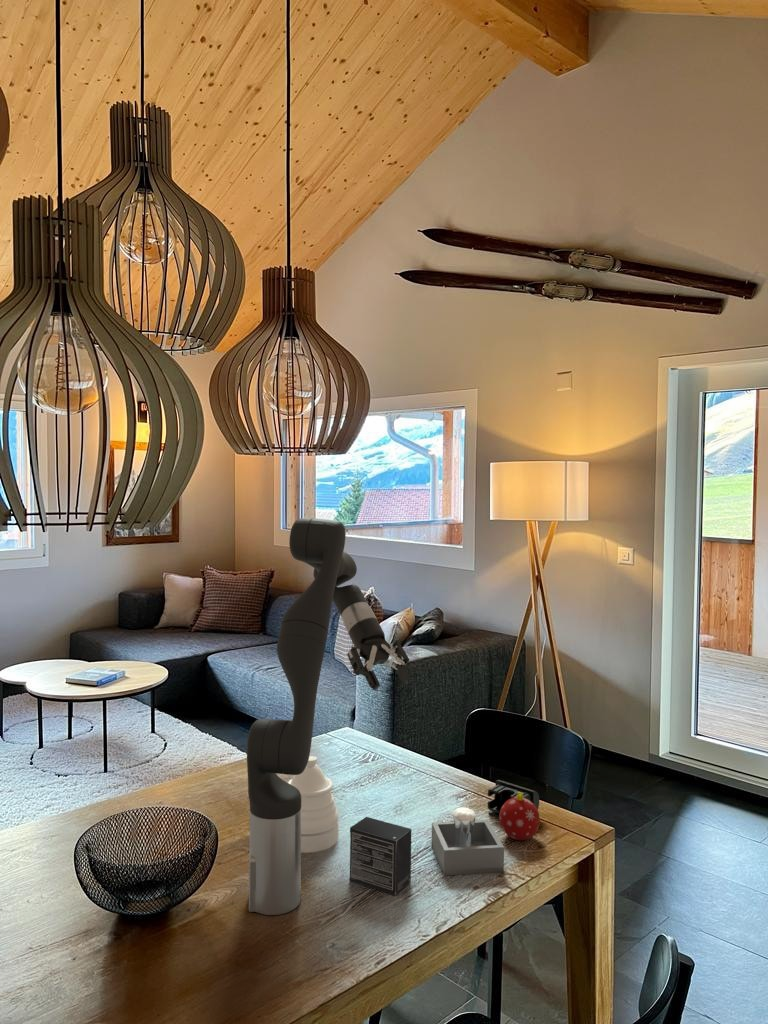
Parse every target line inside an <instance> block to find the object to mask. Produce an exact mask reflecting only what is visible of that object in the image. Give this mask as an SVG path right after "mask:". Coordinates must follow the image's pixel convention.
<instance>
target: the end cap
mask: <svg viewBox="0 0 768 1024" xmlns="http://www.w3.org/2000/svg"><path fill="white" fill-rule="evenodd" d="M518 792H521V793H523V798H525V799H528V800H529V801H531V802H532V803H533V804H534V805H535V807H536V808H537V810H538V811H539V807H540V796H539V793H538V792H537V791H536V790H533V789H530V788H527V787H523V786H520V785H517V784H514V783H510V782H507V781H504V780H501V779H497V780H495V785H494V786H493V787H491V788H489V789H488V790H487V797H489V798H490V797H491V796H493V798H492V799H490V800H488V801H487V809H488V811H487V812H488V815H489V816H490V817H495V818H496V819H499V814H500V810H501V808H502V806H503V805H504V803H505V802H506V801H508V800H509V799H511V798H515V797H517V793H518ZM519 794H520V793H519ZM520 795H521V794H520Z"/></svg>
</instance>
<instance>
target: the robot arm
mask: <svg viewBox="0 0 768 1024" xmlns="http://www.w3.org/2000/svg"><path fill="white" fill-rule="evenodd" d="M346 533H347V532H346V528H345V525H344V523H343V522H341V521H339V520H336V519H326V518H315V517H314V518H313V517H303V518H301V517H300V518H298V519H296V520H295V521H294V522H293V524H292V526H291V529H290V533H289V550H290V554H291V556H292V557H293V559H294V560H297V561H299V562H303V563H305V564H307V565H309V566H310V567H312V568H313V574H312V575H313V579H314V580H313V581H312V582H311V584H310V585H309V586H308V587H307V588H306V589H305V590H304V591H303V592H302V593H301V595H299V596H298V597H297V598H296V600H295V601H293V603H291V605H290V606H289V607H288V608H287V610H286V611H285V612H284V614H283V617H282V619H281V623H280V628H279V634H278V636H277V637H278V638H277V644H276V653H277V657H278V660H279V663H280V666H281V668H282V670H283V672H284V675H285V678H286V679H287V682H288V684H289V687H290V690H291V694H292V697H293V716H292V720H287V719H274V718H273V719H272V718H259V719H256V720H255V721H254V722H253V723H252V724H251V726H250V728H249V732H248V735H247V739H246V740H247V741H246V767H247V768H246V769H247V792H248V794H247V795H248V800H249V854H248V855H249V856H248V912H250V913H251V912H256V913H258V914H261V915H266V916H279V915H283V914H287V913H289V912H291V911H294V909H296V908H297V907H298V906H299V905H300V903H301V892H302V889H301V888H302V886H301V885H302V884H301V881H302V880H301V879H302V877H301V876H302V868H301V867H302V852H301V794H300V791H299V790H298V789H297V788H296V787H294V786H293V785H291V784H289V783H288V781H285V780H284V779H282V778H281V777H280V776H279V775H290V776H294V775H299V774H301V773H302V772H303V771H304V770H305V768H306V766H307V763H308V760H309V756H311V748H312V740H313V733H314V719H315V711H316V702H317V694H318V688H319V681H320V676H321V671H322V666H323V661H324V655H325V651H326V646H327V640H328V634H329V627H330V620H331V613H332V605H333V603H334V605H335V607H336V609H337V610H338V613H339V615H340V617H341V619H342V622H343V625H344V627H345V630H346V632H347V634H348V636H349V638H350V639H351V642H352V644H353V646H352V647H351V648H350V650H349V651H348V652H347V658H348V660H349V662H350V666H351V668H352V670H353V673H354V674H355V675H356V676H360V675H361V676H363V677H364V678H365V679H366V682H367V684H368V685H369V687H370V688H371V689H372V690H373V691H377V690H378V689H379V688H380V682H379V680H378V678H377V676H376V673H375V672H374V670H373V666H378V665H384V664H385V665H386V666H388V667H392V668H393V669H395V670H396V673H397V676H398V677H399V679H400V681H401V682H402V684H403V685H406V684H408V682H410V678H411V676H410V674H409V672H408V670H407V668H406V665H407V664H408V663H409V662H410V658H409V656H408V655H407V653H406V651H405V650H404V648H403V646H402V644H401V642H400V641H399V640H395V641H394V642H392V643H389V642H388V641H387V640H386V637H385V636H386V635H385V632H384V630H383V628H382V626H381V625H380V622H379V621H378V618H377V617H376V615H375V612H374V611H373V609H372V608H371V606H370V604H369V603H368V602H367V599H366V597H365V595H364V594H363V591H362V589H360V587H359V586H358V585H357V584H356V585H355V584H347V585H345V586H340V585H342V584H345V583H347V582H349V581H350V580H352V579H353V578H355V576H356V575H357V571H358V569H357V564H356V562H355V560H354V558H353V557H352V555H350V554H348V552H345V551H344V550H345V545H346ZM390 657H391V658H390ZM361 658H362V659H364V661H362V660H361ZM277 774H278V775H277Z"/></svg>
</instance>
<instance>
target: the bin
mask: <svg viewBox="0 0 768 1024" xmlns="http://www.w3.org/2000/svg"><path fill="white" fill-rule="evenodd" d="M431 849H432V850H433V854H434V855H435V857H436V860H437V862H438V864H439V867H440V869H441V872H442V875H443V876H456V875H457V876H458V875H462V876H463V875H477V874H478V875H479V874H491V873H492V874H493V873H496V874H497V873H504V871H505V870H504V868H505V846H504V845H503V843H502V841H501V840H500V838H499V836H498V835H497V833H496V831H495V829H494V828H493V826H492V825H491V823H490V821H489V820H488V819H479V820H476V819H475V825H474V835H473V846H470V847H455V833H454V821H437V822H435V821H434V822H431Z"/></svg>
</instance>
